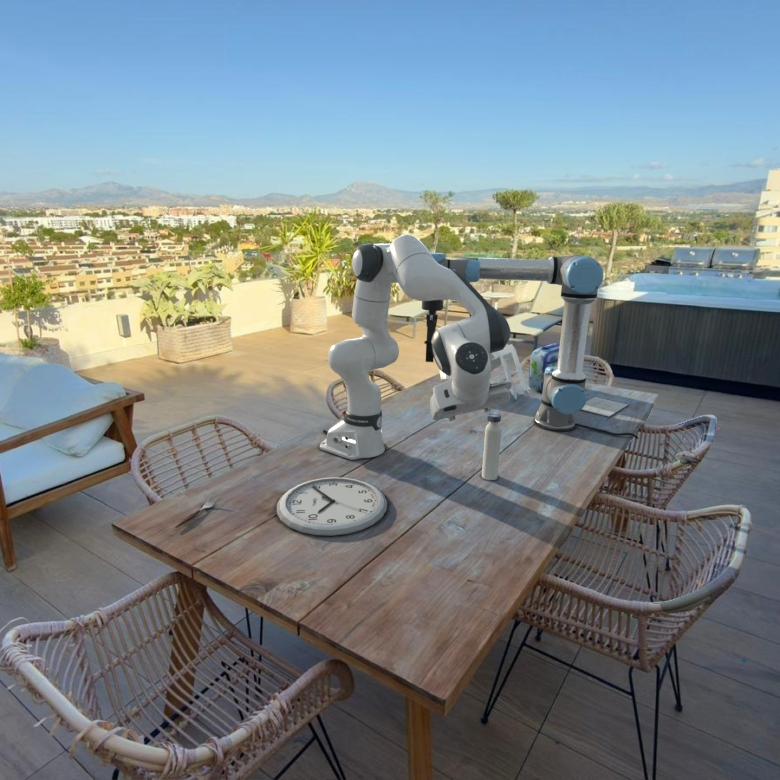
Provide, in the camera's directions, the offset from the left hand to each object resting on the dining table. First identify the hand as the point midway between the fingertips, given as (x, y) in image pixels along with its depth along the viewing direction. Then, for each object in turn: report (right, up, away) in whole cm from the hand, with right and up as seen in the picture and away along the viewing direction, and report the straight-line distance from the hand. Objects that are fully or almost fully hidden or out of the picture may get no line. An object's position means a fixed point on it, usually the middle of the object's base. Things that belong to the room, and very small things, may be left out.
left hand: (469, 413), depth 138 cm
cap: (+10, -1, +17) cm, 20 cm away
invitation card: (+71, -1, +89) cm, 113 cm away
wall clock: (-37, -25, +5) cm, 45 cm away
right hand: (-6, +18, +52) cm, 55 cm away
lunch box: (+56, +7, +114) cm, 127 cm away
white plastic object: (+21, +5, +105) cm, 108 cm away
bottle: (+10, -20, +23) cm, 32 cm away
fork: (-72, -26, -1) cm, 76 cm away
